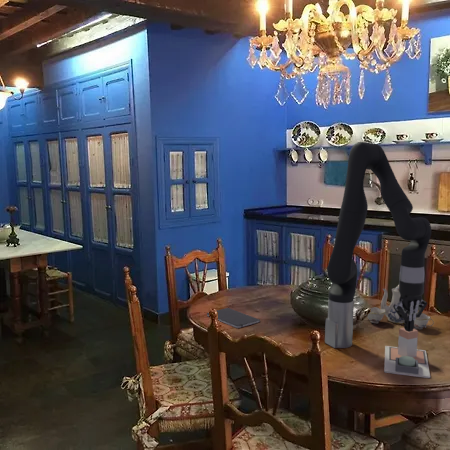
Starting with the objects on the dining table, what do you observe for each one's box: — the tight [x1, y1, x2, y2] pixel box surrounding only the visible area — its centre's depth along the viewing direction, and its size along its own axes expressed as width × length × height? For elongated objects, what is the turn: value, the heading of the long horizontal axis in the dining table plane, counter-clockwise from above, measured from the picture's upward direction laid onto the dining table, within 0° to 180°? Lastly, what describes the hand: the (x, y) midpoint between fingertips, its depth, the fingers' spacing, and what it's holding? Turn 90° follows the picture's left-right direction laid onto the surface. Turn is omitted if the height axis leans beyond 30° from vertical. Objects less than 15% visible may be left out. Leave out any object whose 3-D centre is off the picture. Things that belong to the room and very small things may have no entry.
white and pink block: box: [397, 327, 419, 358], centre depth 179 cm, size 4×4×10 cm
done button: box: [399, 356, 415, 367], centre depth 168 cm, size 5×5×2 cm
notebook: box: [206, 307, 261, 329], centre depth 220 cm, size 13×2×21 cm
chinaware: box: [366, 284, 435, 330], centre depth 214 cm, size 28×17×17 cm, turn 71°
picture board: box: [383, 345, 431, 379], centre depth 176 cm, size 22×14×3 cm, turn 162°
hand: (409, 330), depth 167 cm, fingers closed
